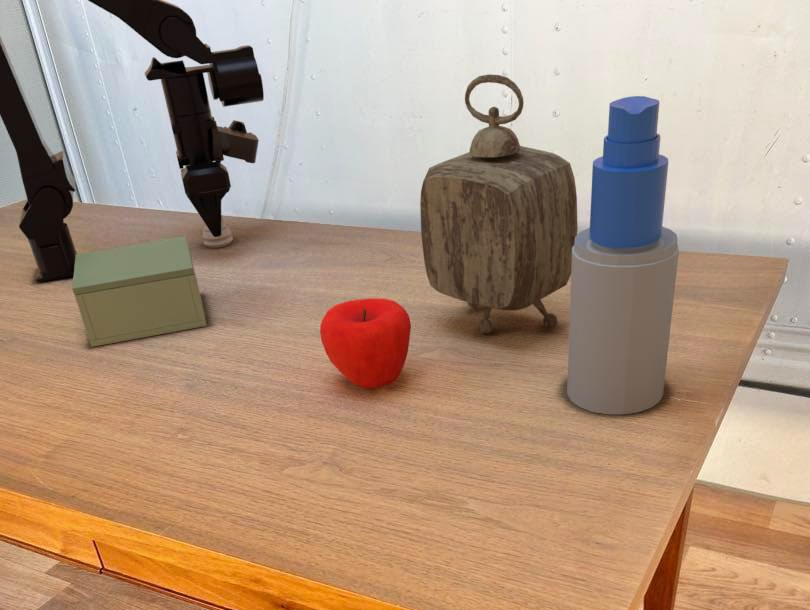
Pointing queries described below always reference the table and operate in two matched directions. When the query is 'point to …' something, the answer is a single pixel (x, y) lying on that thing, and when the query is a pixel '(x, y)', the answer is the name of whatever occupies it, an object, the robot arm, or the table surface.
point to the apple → (367, 340)
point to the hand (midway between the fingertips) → (214, 227)
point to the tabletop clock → (499, 219)
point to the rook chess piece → (217, 241)
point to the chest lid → (131, 265)
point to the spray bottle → (623, 271)
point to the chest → (142, 310)
